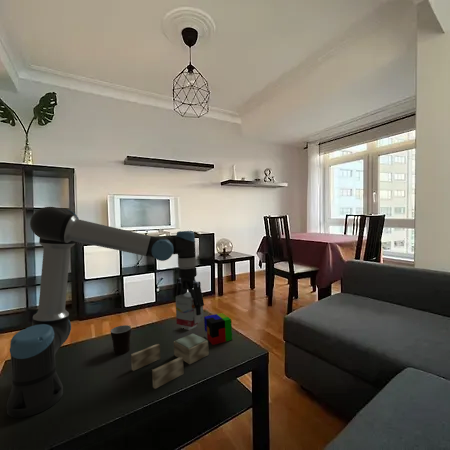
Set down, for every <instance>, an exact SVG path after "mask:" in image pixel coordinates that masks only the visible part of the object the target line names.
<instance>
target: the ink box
mask: <svg viewBox="0 0 450 450" xmlns="http://www.w3.org/2000/svg"><path fill="white" fill-rule="evenodd" d="M203 296H204V295H203V293H202V297H203ZM175 298H176V299H175V314H176V318H175V319H176V321H175V322H176V325H180V326H181V325H184V326H189V327H193V326H195V325H196V324H197V325H198V324H200V323H201V322H203V321H204V306H201V315H200V318H201V322H199V323H196V324H195V323H194V307H195V305H194V301H193V298H192V297H191V294H190V292H189V291H187V292H186V293H185V294H181V295H179V296H176V295H175Z"/></svg>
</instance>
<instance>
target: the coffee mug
mask: <svg viewBox="0 0 450 450" xmlns="http://www.w3.org/2000/svg"><path fill="white" fill-rule="evenodd" d="M131 331H132V326H131V325H125V324H123V325H119V326H118V325H117V326H116V327H112V329H110V335H111V341H112V342H111V343H112V348H113V352H114V353H113V354H115V355H117V356H119V355H124V354H126V353H128V352H130V348H131V333H132V332H131Z"/></svg>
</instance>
